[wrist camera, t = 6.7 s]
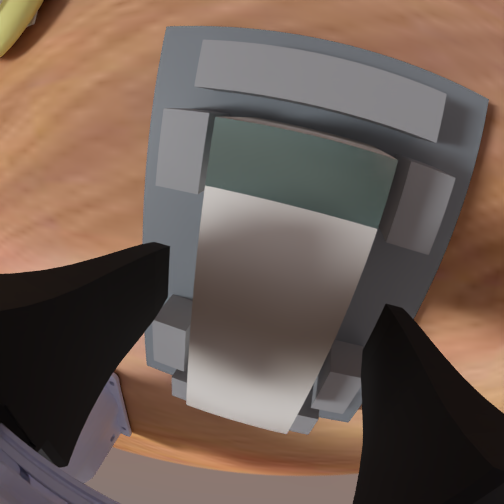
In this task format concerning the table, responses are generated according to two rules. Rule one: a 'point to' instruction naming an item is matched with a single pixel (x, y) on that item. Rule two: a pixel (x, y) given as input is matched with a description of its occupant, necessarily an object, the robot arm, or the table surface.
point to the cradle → (322, 119)
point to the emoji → (15, 20)
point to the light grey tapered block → (277, 263)
